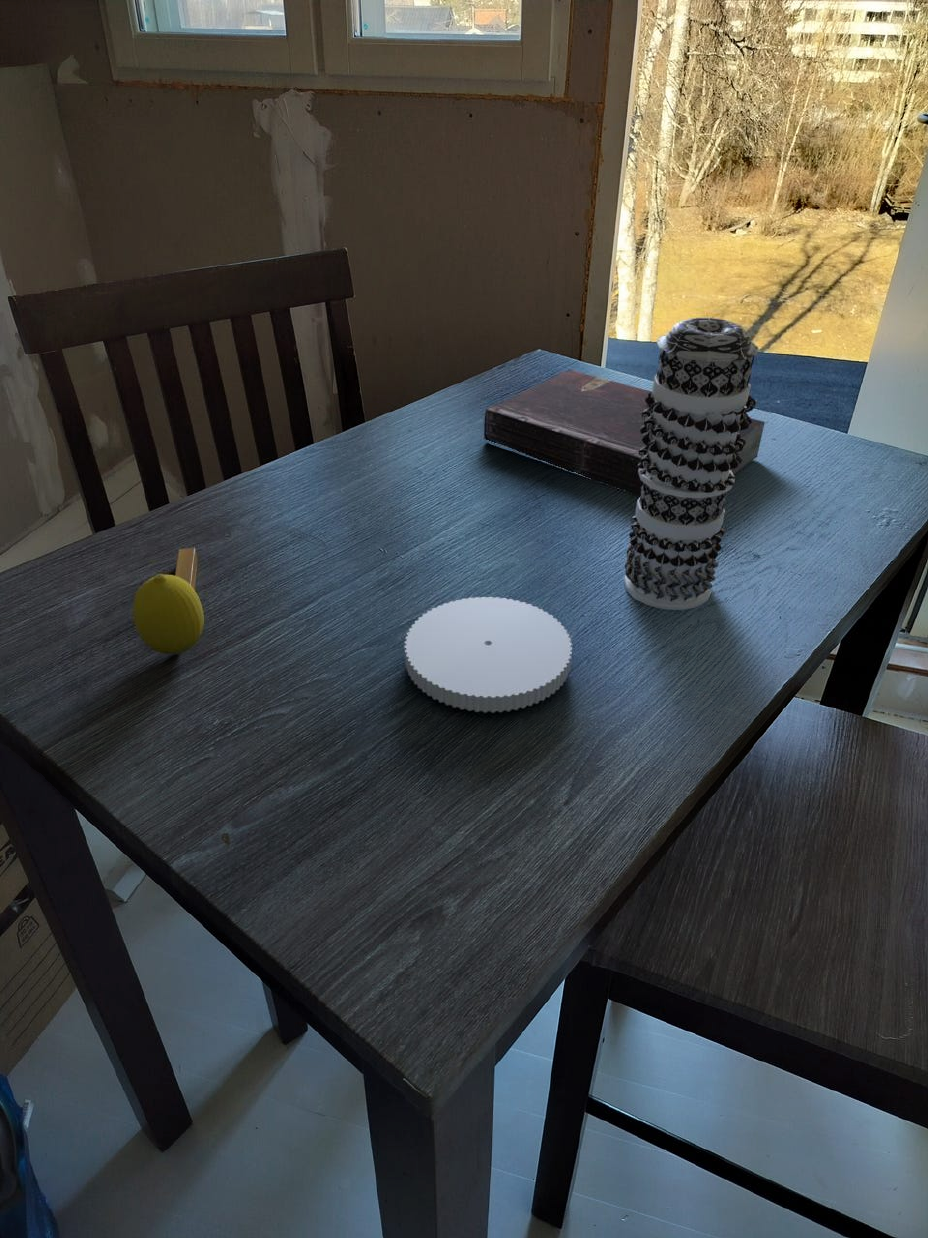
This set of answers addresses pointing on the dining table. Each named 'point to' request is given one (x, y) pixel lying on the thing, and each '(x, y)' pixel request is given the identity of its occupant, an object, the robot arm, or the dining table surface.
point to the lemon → (168, 614)
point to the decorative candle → (689, 461)
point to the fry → (187, 565)
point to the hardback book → (586, 427)
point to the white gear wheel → (488, 654)
